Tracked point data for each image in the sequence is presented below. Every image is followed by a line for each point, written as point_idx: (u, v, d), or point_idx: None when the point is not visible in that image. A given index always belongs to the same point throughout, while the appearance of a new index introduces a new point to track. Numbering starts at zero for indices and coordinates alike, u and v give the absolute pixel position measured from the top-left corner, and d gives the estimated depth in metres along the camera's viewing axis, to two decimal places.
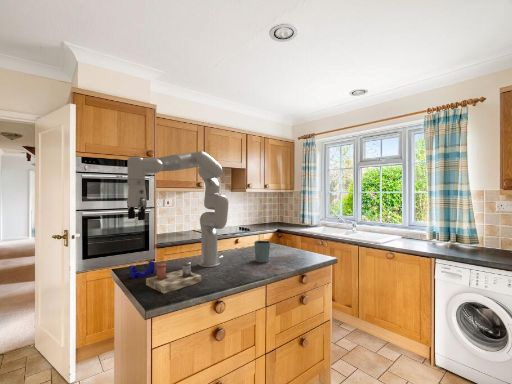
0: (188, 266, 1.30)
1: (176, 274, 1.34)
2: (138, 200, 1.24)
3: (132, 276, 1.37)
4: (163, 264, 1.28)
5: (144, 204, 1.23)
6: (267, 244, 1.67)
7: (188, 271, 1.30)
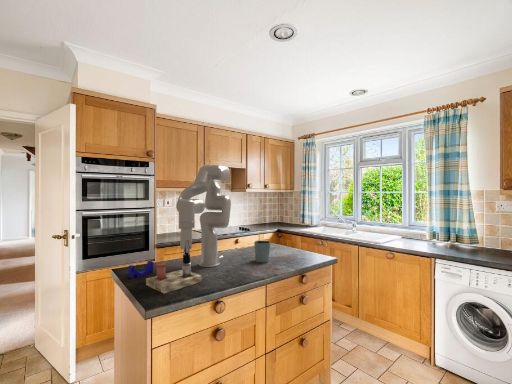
0: (188, 266, 1.30)
1: (176, 274, 1.34)
2: None
3: (131, 276, 1.37)
4: (163, 264, 1.28)
5: None
6: (267, 244, 1.67)
7: (188, 271, 1.30)
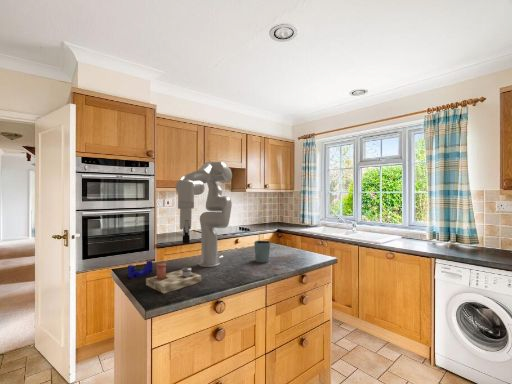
0: (188, 272, 1.30)
1: (176, 274, 1.34)
2: None
3: (130, 275, 1.38)
4: (163, 264, 1.28)
5: None
6: (267, 244, 1.67)
7: None
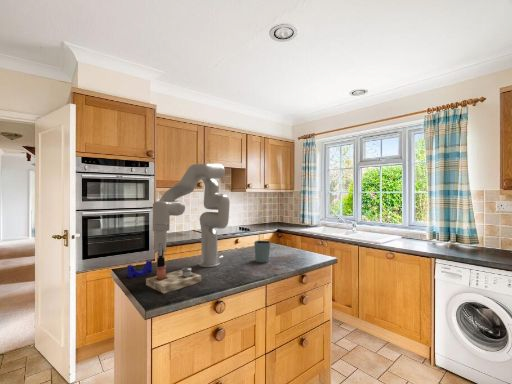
0: (188, 272, 1.30)
1: (176, 274, 1.34)
2: None
3: (130, 275, 1.38)
4: None
5: None
6: (267, 244, 1.67)
7: None
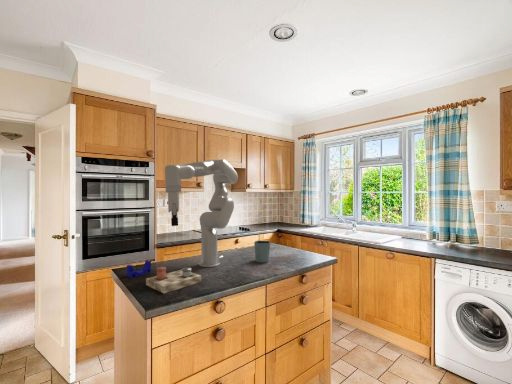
0: (188, 272, 1.30)
1: (176, 274, 1.34)
2: None
3: (129, 275, 1.38)
4: (163, 268, 1.28)
5: None
6: (267, 244, 1.67)
7: None
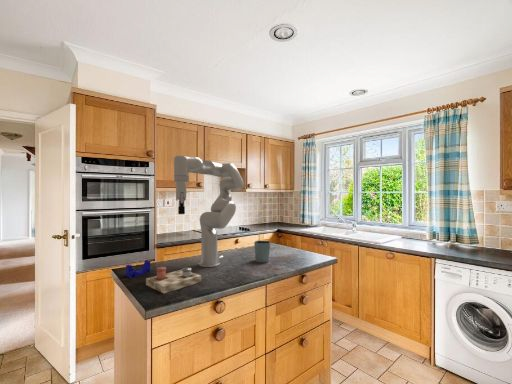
0: (188, 272, 1.30)
1: (176, 274, 1.34)
2: None
3: (129, 275, 1.38)
4: (163, 268, 1.28)
5: None
6: (267, 244, 1.67)
7: None
